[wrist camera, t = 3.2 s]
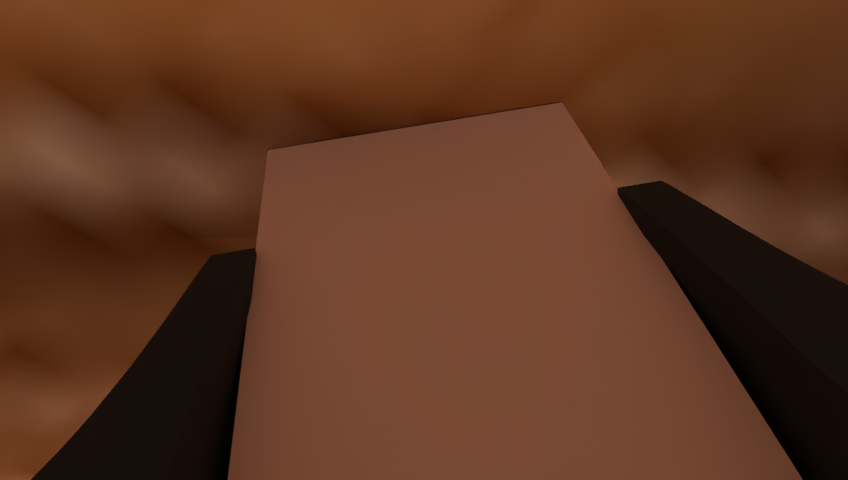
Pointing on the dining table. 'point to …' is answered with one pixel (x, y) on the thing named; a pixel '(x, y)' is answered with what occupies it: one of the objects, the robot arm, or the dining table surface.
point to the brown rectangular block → (476, 320)
